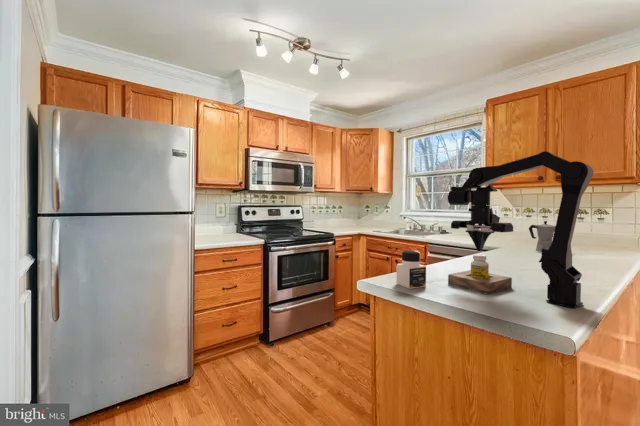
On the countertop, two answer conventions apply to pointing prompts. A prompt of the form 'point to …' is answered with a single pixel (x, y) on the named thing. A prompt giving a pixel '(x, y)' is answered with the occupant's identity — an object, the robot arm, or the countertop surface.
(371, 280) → the countertop surface
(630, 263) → the countertop surface
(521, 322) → the countertop surface
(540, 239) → the coffeepot
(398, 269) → the medicine bottle
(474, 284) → the socket block
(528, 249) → the countertop surface
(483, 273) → the supplement bottle
